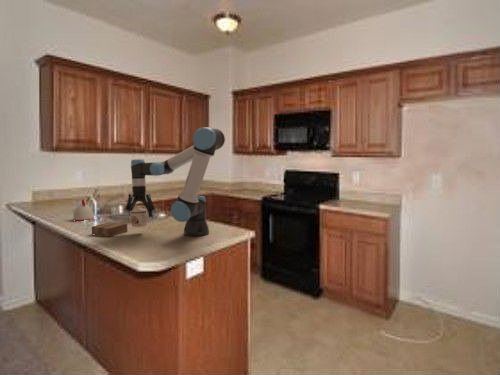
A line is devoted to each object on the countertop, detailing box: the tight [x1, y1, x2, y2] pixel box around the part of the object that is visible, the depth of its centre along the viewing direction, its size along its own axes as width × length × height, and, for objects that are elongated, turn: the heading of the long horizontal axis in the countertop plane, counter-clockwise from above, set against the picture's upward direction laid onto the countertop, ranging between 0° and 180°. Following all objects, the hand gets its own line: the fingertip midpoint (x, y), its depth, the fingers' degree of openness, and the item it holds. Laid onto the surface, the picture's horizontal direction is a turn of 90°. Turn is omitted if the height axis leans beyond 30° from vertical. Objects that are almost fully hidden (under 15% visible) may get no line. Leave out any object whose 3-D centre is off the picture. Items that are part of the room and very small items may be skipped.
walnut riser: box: [91, 221, 128, 238], centre depth 200 cm, size 14×14×5 cm
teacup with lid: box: [131, 205, 148, 228], centre depth 197 cm, size 12×9×12 cm
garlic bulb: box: [72, 199, 95, 221], centre depth 240 cm, size 14×14×15 cm
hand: (140, 222), depth 197 cm, fingers closed on teacup with lid, 12 cm apart
